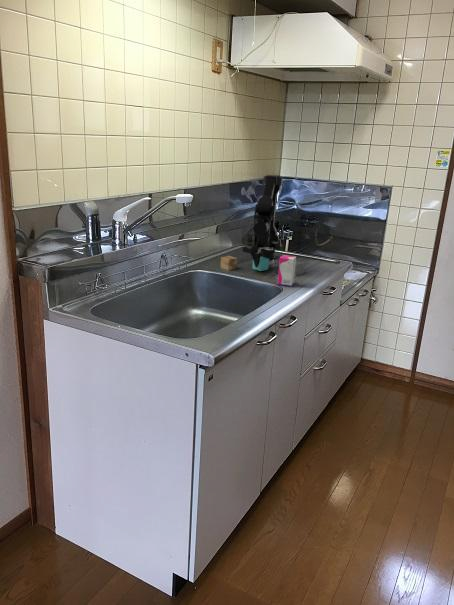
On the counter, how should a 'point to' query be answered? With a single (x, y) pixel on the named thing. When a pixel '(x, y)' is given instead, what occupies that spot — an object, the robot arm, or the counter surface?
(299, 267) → the charcoal cube
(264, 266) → the teal cube
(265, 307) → the counter surface
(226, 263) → the walnut cube
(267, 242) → the robot arm
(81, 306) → the counter surface
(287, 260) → the supplement box
